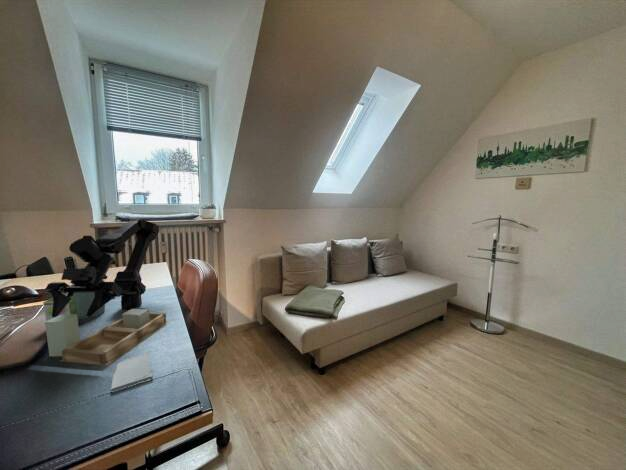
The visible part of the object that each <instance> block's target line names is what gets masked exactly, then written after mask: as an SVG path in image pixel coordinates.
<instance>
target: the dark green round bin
mask: <svg viewBox="0 0 626 470" xmlns="http://www.w3.org/2000/svg"><path fill="white" fill-rule="evenodd" d="M102 282H106V280H105V279H103V281H102ZM70 286H75V284H72V283H71V285H70ZM74 294H75V299H76V306H77V314H78V319H88V318H93V317H96V316H99V315H101V314H103V313H105V309H106V304H105V305H103V306H102V307H101V308H100V309H98V310H97V311H96V312H95V313H94V314H92V315H91V316H90V317H87V316H86V315H87V312H88V309H89V307H90V305H91V303H92V301H93V299H94V297H95V292H87V293H74Z"/></svg>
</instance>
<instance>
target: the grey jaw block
mask: <svg viewBox="0 0 626 470" xmlns="http://www.w3.org/2000/svg"><path fill="white" fill-rule="evenodd" d="M149 312H150V311H149V309H144V308H134V309H130V310H126V312H124V313H122V318H123V325H124V328H133V329H139V328H141V327H142V326H144V325H145V324H147V323H149V322H150V320H149Z"/></svg>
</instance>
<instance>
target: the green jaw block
mask: <svg viewBox="0 0 626 470" xmlns="http://www.w3.org/2000/svg"><path fill="white" fill-rule="evenodd" d="M44 327H45V333H46V339H47V340H46V341H47V347H48V354H49V355H48V356H49V357H62V350H64V349H66V348H68V347H70V346H71V345H73V344H75V343H77V342H79V341H81V337H80V329H79V318H78V319H77V314H70V315H59V316H56V317H54V318H52V319H50V320H48V321H46V320H45V322H44Z"/></svg>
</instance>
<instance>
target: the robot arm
mask: <svg viewBox="0 0 626 470" xmlns="http://www.w3.org/2000/svg"><path fill="white" fill-rule="evenodd" d="M159 233H160V227H159V226H158V224H157V223H154V222H151V221H147V220H146V219H144V218H131V219H128V221H127V222H126V223H124V224H123V225H122V226H121V227H120V228H118V229H117V230H115V231H114V232H112V233H110V234H106V235H103V236H100V237H99V238H98V237H97V239H95V238H94V237H93V236H92V235H83V236H82V238H79V239H76V240H75V241H73V242H72V243H70V245H69V251H70V252H71V253H72V254H73V255H75V256H76V257H77V258H78V259H79V260H81V261H82V262H83V263H86V266H84V267H81V268H63V271H62V274H61V275H62V276H61V279H60V280H61V282H59V281H55V282H49V283H48V284H47V285H46V287H45V288H44V291H45V292H46V293H48V294H49V295H50V296H51V295H52V297H53V310H52V317H56V316H58V315H59V314H60V313H61V311H62V310H63V309H64V308H65V306H66V305H67V304H68V303H69V301H70V300H71V298H69V297H71V296H73V294H74V293H87V292H95V297H94V299H93V301H92V303H91V305H90V307H89V309H88V312H87V315H86V316H87V317H89V318H91V317H90V316H91V315H92V314H94V313H95V312H96V311H97V310H98V309H100V308H101V307H102V306H103V305H105V306H106V304H107V303H109V302H110V301H112V300H115V299H116V298H119V297H120V298H121V299H120V303H121V304H120V306H121V311H129V310H131V309H138V308H139V307H140V306H141V305H142V304H143V302H142V295H144V294H145V292H146V289H147V286H146V285H145V284H144V283H143V282H142V277H141V274H140V271H141V270H142V269H141V268H142V266H143V263H144V261H145V258H146V255H147V253H148V250H149V247H150V243H152V242H153V241H154V240H156V239H157V237H158V234H159ZM134 235H135V238H136V241H135V244H134V246H133V249H132V251H131V253H130V257H129V258H128V261H127V264H126V267H125V269H124V270H123V271H118V272H116V274H115V278H114V280H113V281H105V282H102V281H103V280H107V279H108V275H107V272H108V271H109V268H110V266H111V265H113V266H114V265H116V264H117V261H116V260H115V257H114V256H111V255H117V254H118V255H119V254H120V253H122V252H123V250H124V249H125V248H126V242H127V241H128V240H129V239H131V238H132V237H133V236H134ZM65 280H66V281H70V282H69V283H70V284H71V285H72V284H75V286H71V285H69V284H68V283H66V282H65ZM63 281H64V282H63Z"/></svg>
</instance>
